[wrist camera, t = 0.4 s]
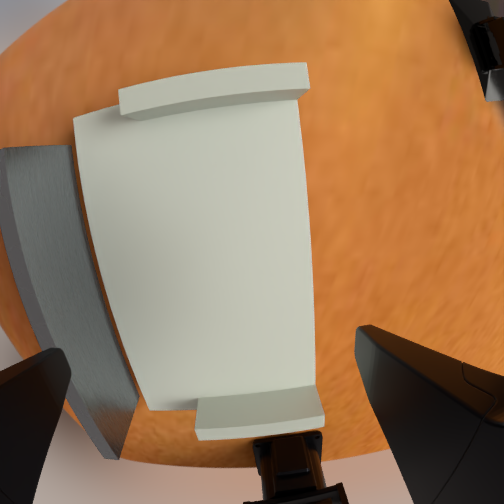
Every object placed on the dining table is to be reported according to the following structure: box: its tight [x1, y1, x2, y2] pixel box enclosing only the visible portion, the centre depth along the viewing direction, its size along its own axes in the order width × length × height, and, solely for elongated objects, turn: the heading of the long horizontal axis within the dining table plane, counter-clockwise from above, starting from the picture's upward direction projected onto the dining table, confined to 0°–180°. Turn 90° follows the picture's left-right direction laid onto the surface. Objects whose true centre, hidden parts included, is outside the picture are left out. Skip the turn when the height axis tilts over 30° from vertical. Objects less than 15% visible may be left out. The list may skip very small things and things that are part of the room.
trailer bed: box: [73, 63, 325, 440], centre depth 17 cm, size 20×12×6 cm, turn 7°
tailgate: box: [0, 145, 140, 460], centre depth 14 cm, size 17×1×6 cm, turn 7°
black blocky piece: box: [449, 0, 504, 102], centre depth 14 cm, size 12×7×5 cm, turn 17°
